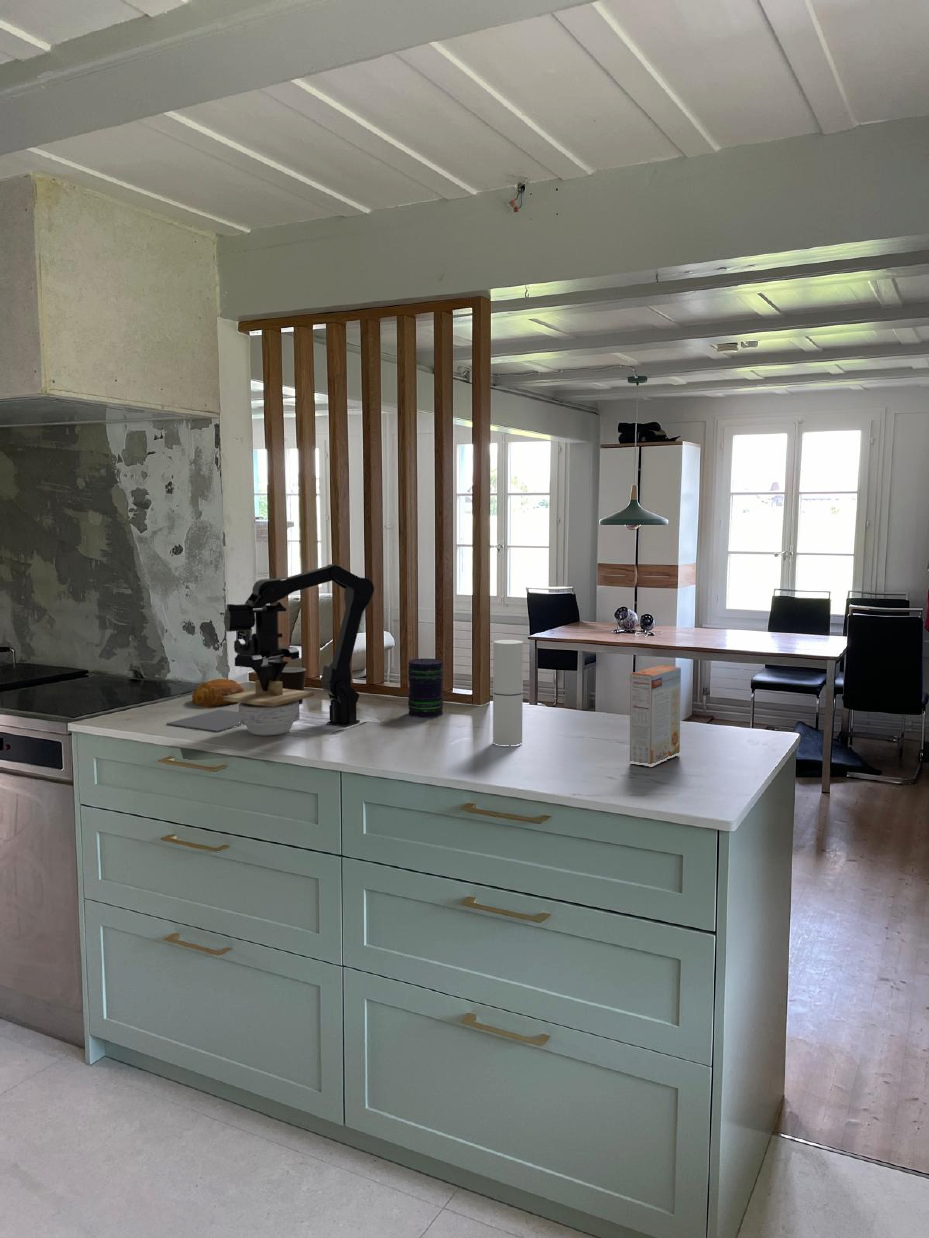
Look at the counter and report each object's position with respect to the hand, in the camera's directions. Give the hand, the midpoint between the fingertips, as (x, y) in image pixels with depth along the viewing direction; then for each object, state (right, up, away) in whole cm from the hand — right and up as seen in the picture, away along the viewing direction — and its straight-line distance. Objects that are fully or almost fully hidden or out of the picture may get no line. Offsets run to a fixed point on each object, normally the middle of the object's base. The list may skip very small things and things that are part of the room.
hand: (268, 690), depth 237 cm
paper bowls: (0, -11, +1) cm, 11 cm away
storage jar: (+39, -9, +23) cm, 46 cm away
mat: (-16, -9, +13) cm, 23 cm away
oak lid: (0, -2, 0) cm, 2 cm away
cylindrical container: (+61, -12, -11) cm, 63 cm away
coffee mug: (-1, -7, +39) cm, 40 cm away
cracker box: (+93, -14, -26) cm, 98 cm away
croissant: (-23, -7, +40) cm, 47 cm away
